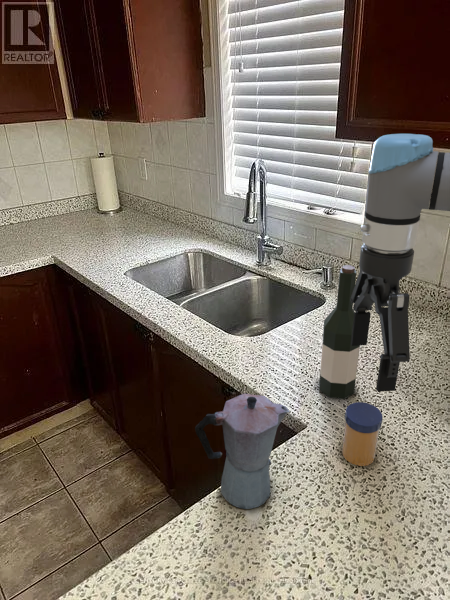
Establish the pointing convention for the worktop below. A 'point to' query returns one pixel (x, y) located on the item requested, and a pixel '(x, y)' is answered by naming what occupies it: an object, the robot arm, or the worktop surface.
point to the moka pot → (245, 447)
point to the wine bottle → (340, 342)
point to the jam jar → (359, 446)
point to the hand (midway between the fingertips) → (370, 365)
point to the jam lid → (363, 417)
